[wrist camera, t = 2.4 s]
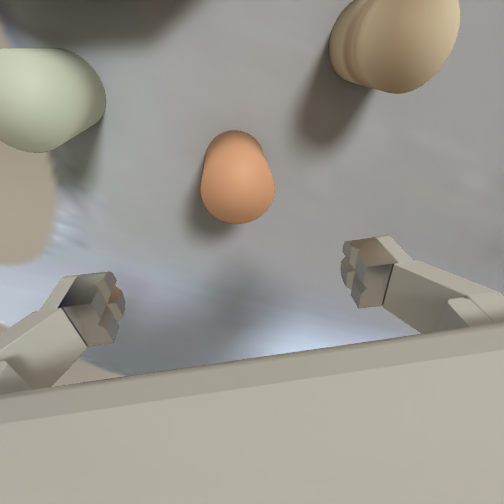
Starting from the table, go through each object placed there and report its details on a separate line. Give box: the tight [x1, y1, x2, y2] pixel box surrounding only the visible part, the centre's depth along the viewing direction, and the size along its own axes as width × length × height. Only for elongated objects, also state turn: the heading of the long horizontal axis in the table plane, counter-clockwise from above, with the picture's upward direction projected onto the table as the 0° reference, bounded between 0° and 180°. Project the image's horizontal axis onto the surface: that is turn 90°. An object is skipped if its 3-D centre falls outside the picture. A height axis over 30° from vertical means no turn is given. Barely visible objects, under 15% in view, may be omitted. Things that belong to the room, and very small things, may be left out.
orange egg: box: [201, 130, 275, 224], centre depth 17 cm, size 4×4×5 cm
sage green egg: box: [0, 48, 106, 153], centre depth 14 cm, size 4×4×5 cm
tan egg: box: [329, 0, 460, 94], centre depth 14 cm, size 4×4×5 cm
